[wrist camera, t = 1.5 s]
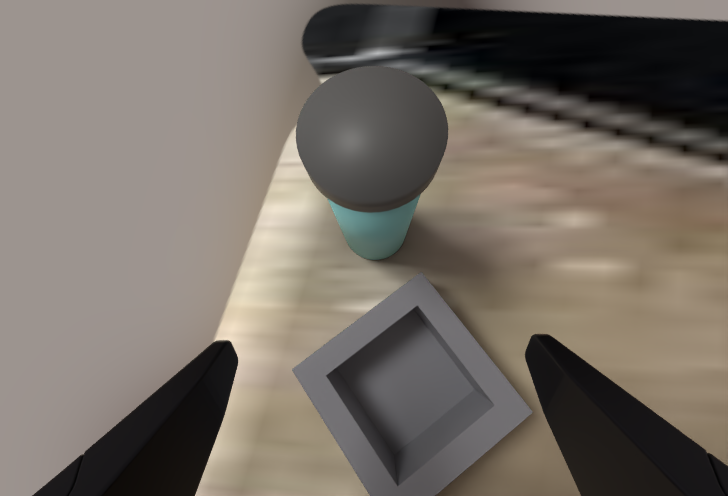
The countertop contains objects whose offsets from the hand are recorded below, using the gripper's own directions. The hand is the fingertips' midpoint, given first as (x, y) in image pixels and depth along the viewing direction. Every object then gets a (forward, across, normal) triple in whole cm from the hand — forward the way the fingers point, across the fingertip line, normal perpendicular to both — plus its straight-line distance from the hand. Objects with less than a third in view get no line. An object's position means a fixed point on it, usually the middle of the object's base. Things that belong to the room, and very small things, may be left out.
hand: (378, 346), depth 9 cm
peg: (+15, 0, +4) cm, 15 cm away
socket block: (+7, -2, +12) cm, 14 cm away
